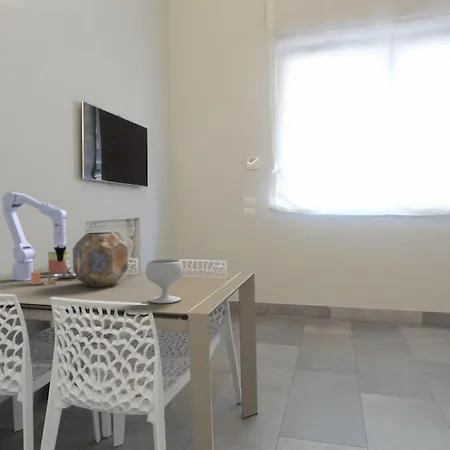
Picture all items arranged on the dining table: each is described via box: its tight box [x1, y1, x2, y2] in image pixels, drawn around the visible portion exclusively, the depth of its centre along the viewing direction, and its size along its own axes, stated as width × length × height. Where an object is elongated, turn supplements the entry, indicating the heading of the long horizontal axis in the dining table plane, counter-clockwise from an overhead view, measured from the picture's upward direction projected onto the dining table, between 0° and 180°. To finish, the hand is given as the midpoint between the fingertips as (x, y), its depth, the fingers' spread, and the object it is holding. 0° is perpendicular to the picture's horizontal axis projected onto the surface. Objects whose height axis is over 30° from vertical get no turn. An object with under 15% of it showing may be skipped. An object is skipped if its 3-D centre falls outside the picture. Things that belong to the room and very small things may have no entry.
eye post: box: [43, 268, 56, 286], centre depth 204 cm, size 5×10×6 cm, turn 22°
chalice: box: [145, 258, 184, 304], centre depth 162 cm, size 14×14×15 cm
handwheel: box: [57, 266, 76, 279], centre depth 217 cm, size 10×10×4 cm
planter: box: [72, 231, 129, 288], centre depth 198 cm, size 22×24×24 cm
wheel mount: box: [51, 277, 78, 282], centre depth 217 cm, size 11×11×1 cm
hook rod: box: [30, 271, 62, 285], centre depth 204 cm, size 13×4×6 cm, turn 112°
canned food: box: [47, 249, 71, 275], centre depth 240 cm, size 11×11×12 cm
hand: (60, 261), depth 213 cm, fingers closed
